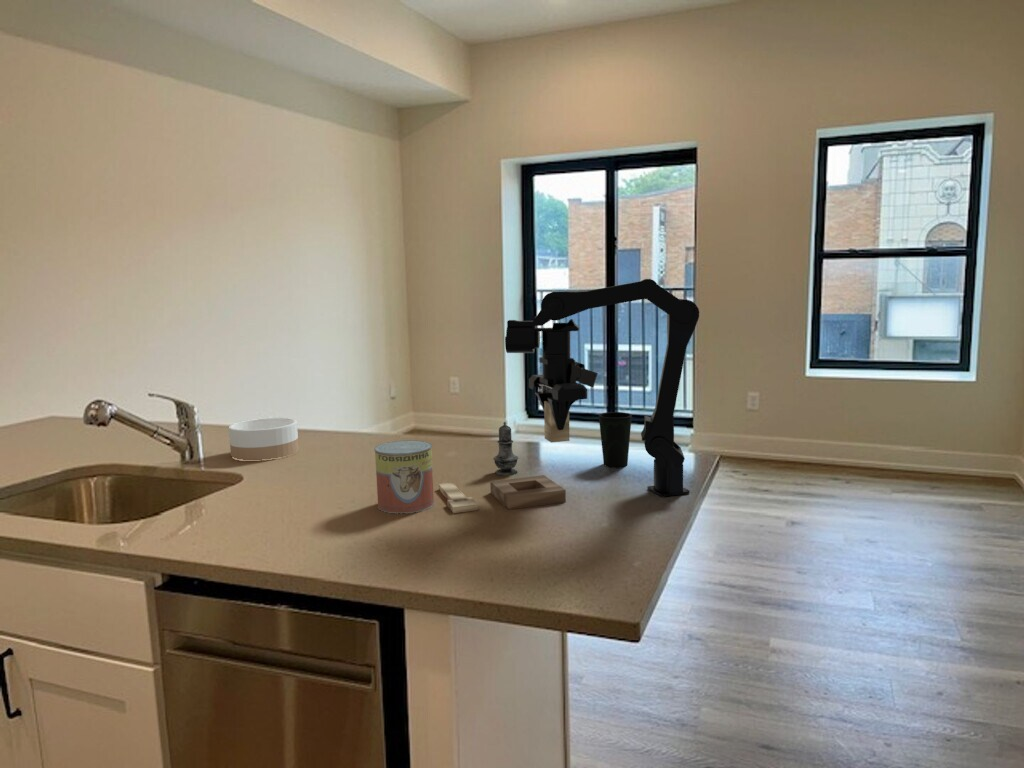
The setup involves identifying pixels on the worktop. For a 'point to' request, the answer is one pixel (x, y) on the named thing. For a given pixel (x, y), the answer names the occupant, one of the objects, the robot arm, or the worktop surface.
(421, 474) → the canned food
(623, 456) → the cup
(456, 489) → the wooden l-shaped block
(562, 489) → the socket block
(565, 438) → the wooden pin
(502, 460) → the salt shaker
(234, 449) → the bowl
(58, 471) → the worktop surface
